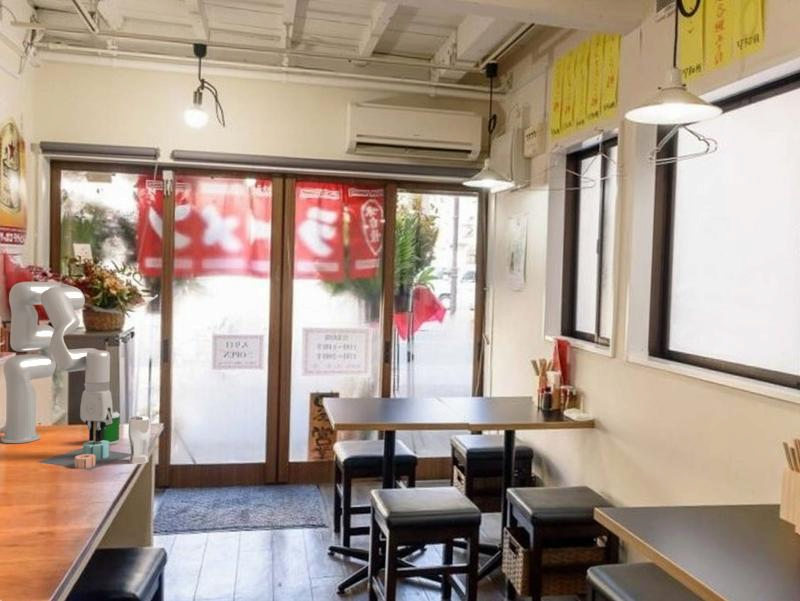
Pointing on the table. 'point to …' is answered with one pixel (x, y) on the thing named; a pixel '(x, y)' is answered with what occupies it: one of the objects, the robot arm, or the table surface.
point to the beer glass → (139, 438)
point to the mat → (69, 457)
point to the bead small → (85, 461)
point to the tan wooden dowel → (95, 433)
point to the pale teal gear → (97, 449)
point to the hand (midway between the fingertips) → (96, 440)
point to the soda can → (112, 429)
